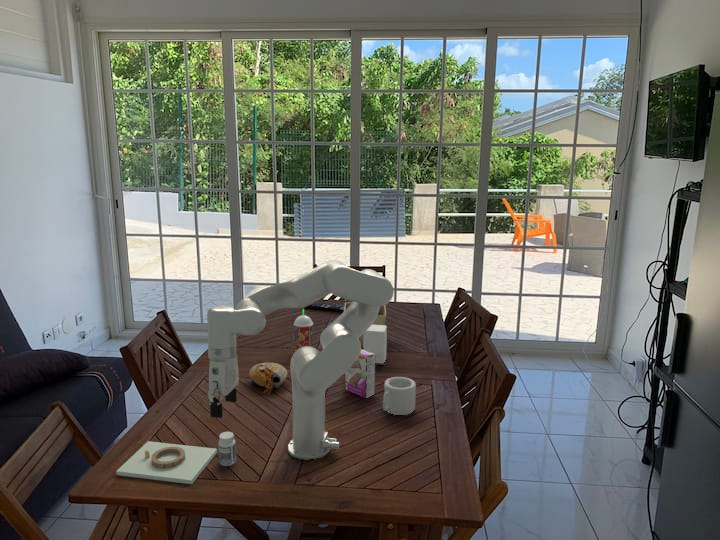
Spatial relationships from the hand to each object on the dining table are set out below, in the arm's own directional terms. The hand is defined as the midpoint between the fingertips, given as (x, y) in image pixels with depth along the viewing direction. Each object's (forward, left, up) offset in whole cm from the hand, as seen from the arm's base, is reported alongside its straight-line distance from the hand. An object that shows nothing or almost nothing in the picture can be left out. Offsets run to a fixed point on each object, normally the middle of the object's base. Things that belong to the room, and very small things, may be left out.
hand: (224, 408), depth 154 cm
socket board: (+16, +4, -16) cm, 23 cm away
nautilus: (+6, -51, -17) cm, 54 cm away
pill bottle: (0, 0, -17) cm, 17 cm away
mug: (-44, -41, -17) cm, 63 cm away
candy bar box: (-29, -52, -17) cm, 62 cm away
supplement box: (-30, -84, -17) cm, 91 cm away
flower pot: (-22, -105, -17) cm, 109 cm away
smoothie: (+2, -87, -17) cm, 89 cm away
